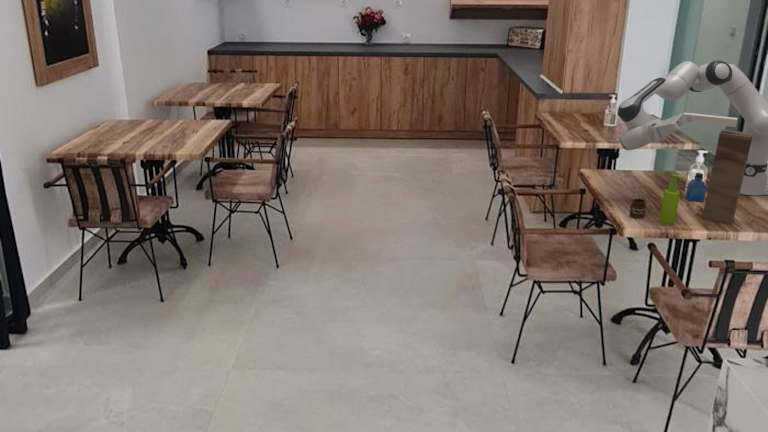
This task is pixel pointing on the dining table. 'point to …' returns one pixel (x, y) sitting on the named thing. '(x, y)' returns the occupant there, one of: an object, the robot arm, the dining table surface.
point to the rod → (711, 119)
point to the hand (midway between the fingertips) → (692, 116)
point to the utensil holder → (638, 207)
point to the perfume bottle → (696, 189)
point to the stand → (727, 176)
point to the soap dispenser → (670, 201)
